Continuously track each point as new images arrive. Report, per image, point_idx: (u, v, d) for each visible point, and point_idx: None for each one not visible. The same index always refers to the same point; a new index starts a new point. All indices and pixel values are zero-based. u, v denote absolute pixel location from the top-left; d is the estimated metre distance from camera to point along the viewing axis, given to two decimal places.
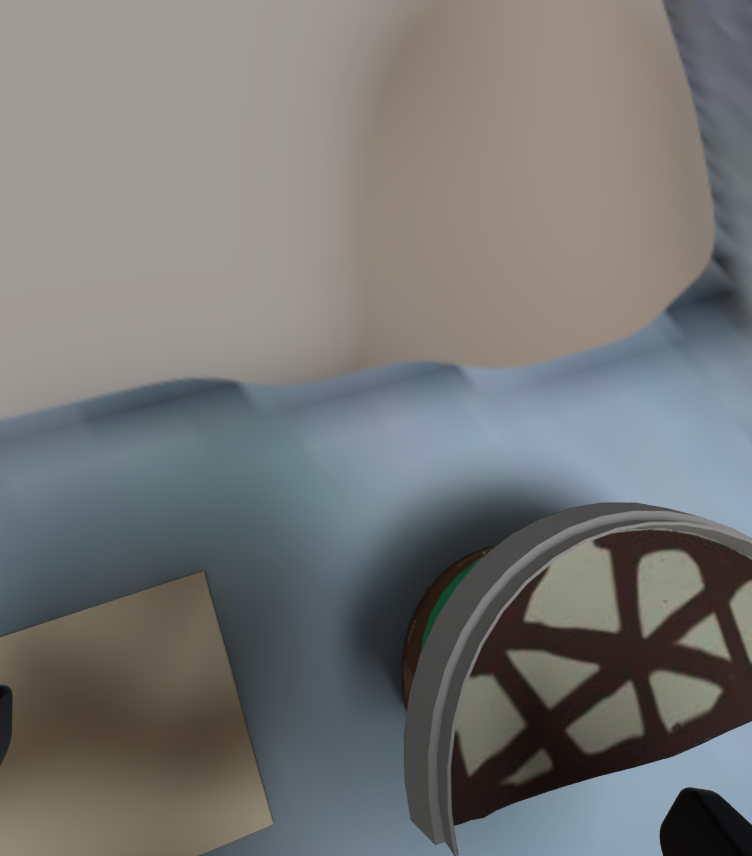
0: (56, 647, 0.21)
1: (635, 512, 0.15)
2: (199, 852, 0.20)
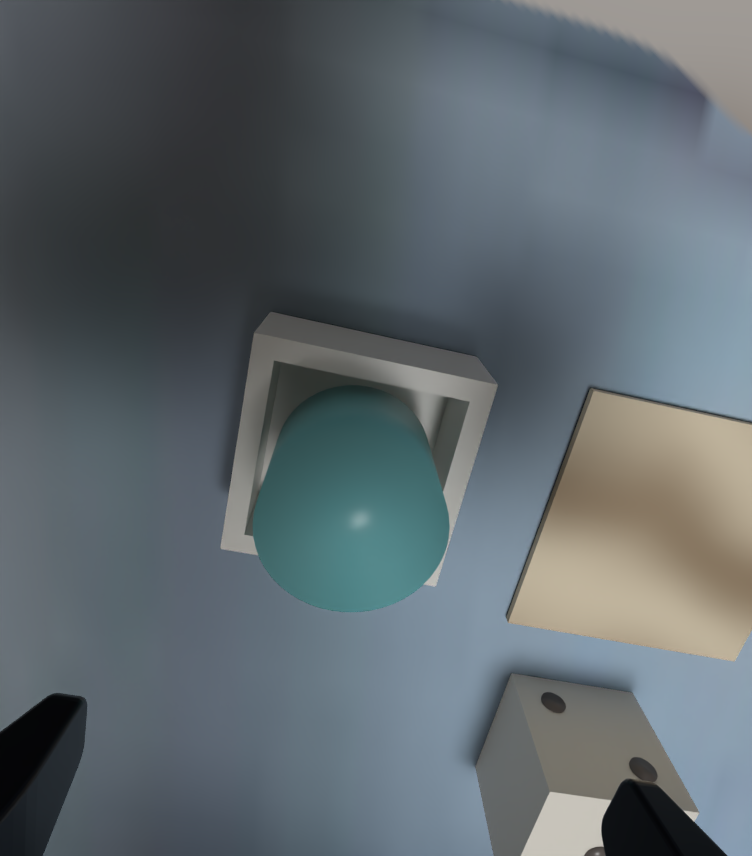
0: (690, 440, 0.19)
1: None
2: (672, 648, 0.22)
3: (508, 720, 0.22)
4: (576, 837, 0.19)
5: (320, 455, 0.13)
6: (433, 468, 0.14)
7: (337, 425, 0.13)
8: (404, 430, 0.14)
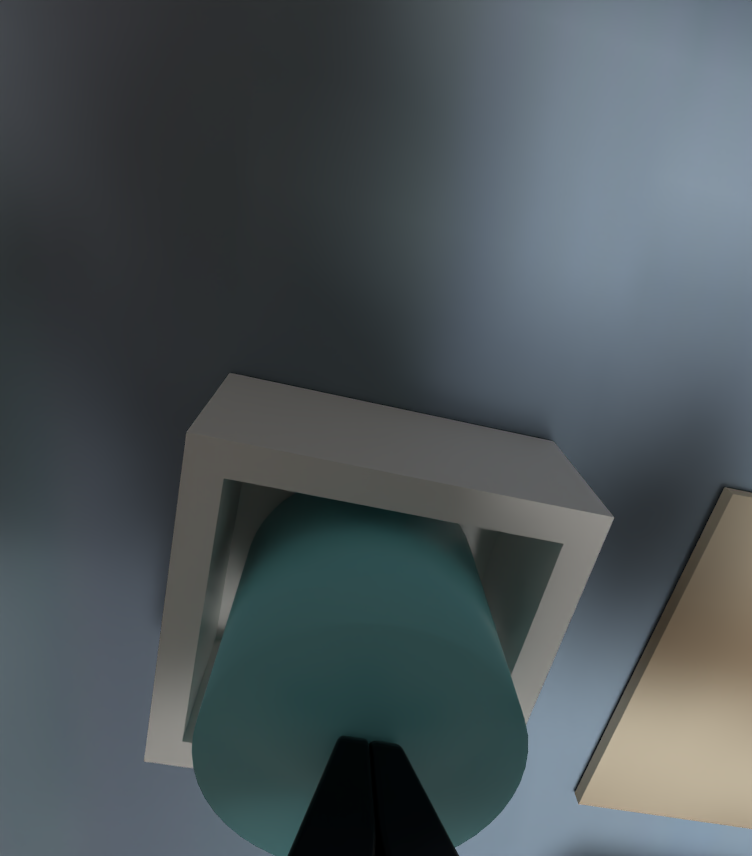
0: None
1: None
2: None
3: None
4: None
5: (307, 647, 0.07)
6: (496, 641, 0.08)
7: (338, 578, 0.08)
8: (447, 572, 0.09)
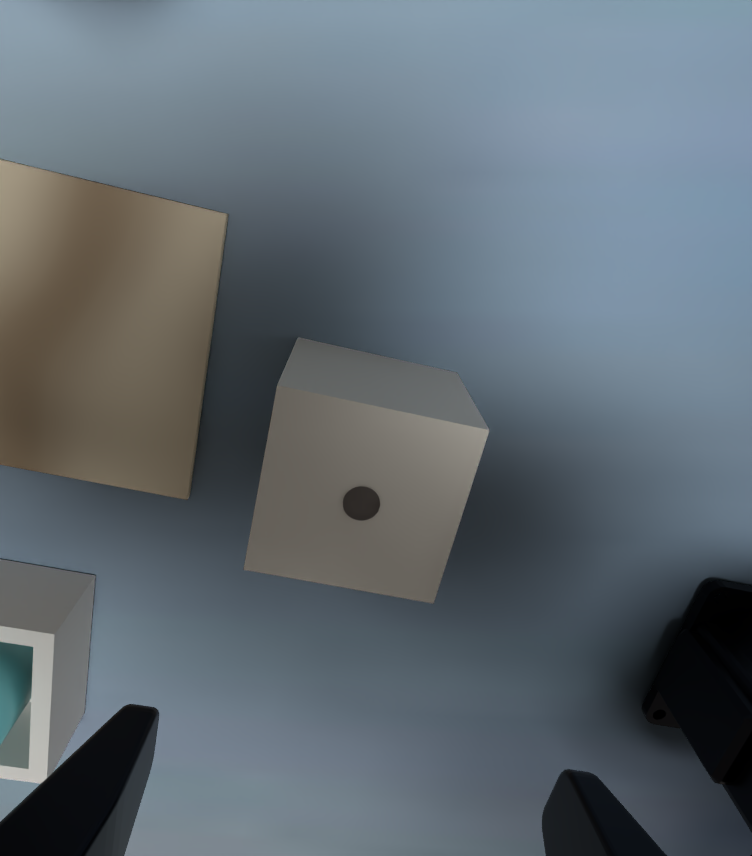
0: None
1: None
2: (211, 304, 0.17)
3: None
4: (325, 532, 0.15)
5: None
6: None
7: None
8: None
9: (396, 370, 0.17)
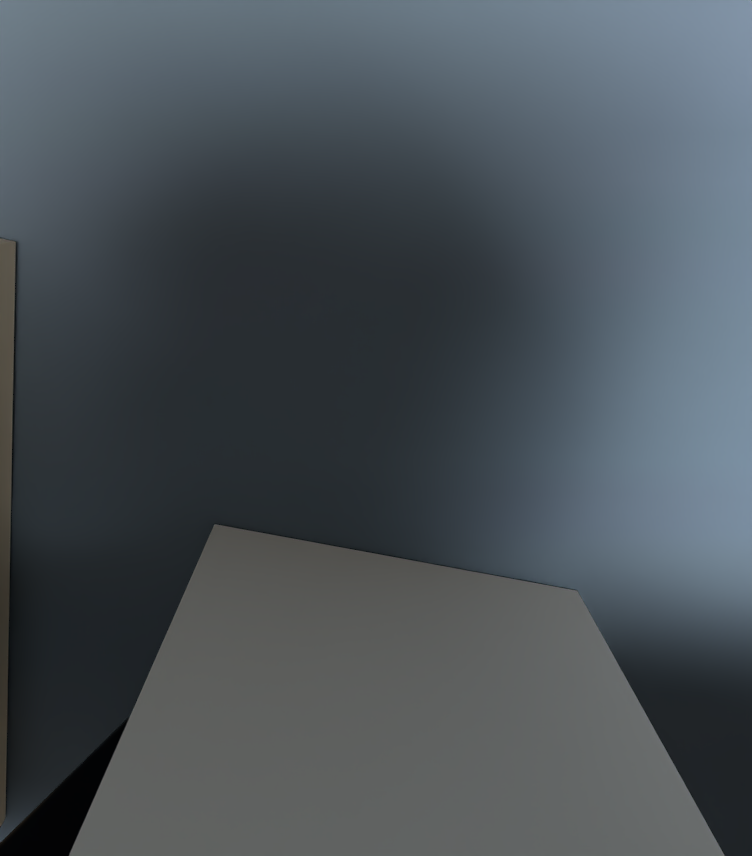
0: None
1: None
2: None
3: None
4: None
5: None
6: None
7: None
8: None
9: (452, 639, 0.07)
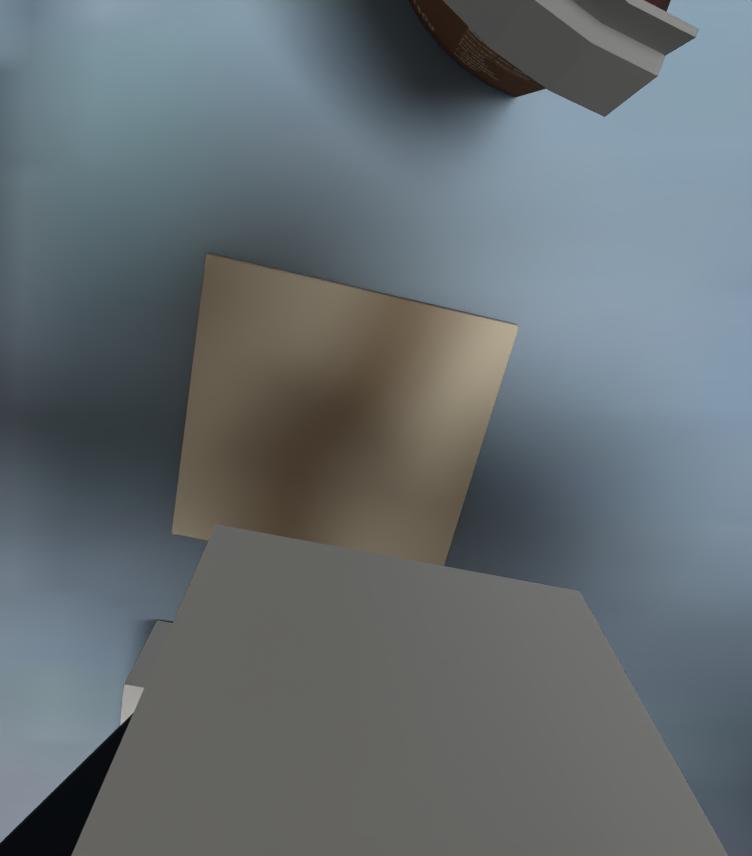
0: (214, 437, 0.18)
1: None
2: (490, 406, 0.18)
3: None
4: None
5: None
6: None
7: None
8: None
9: (454, 640, 0.07)
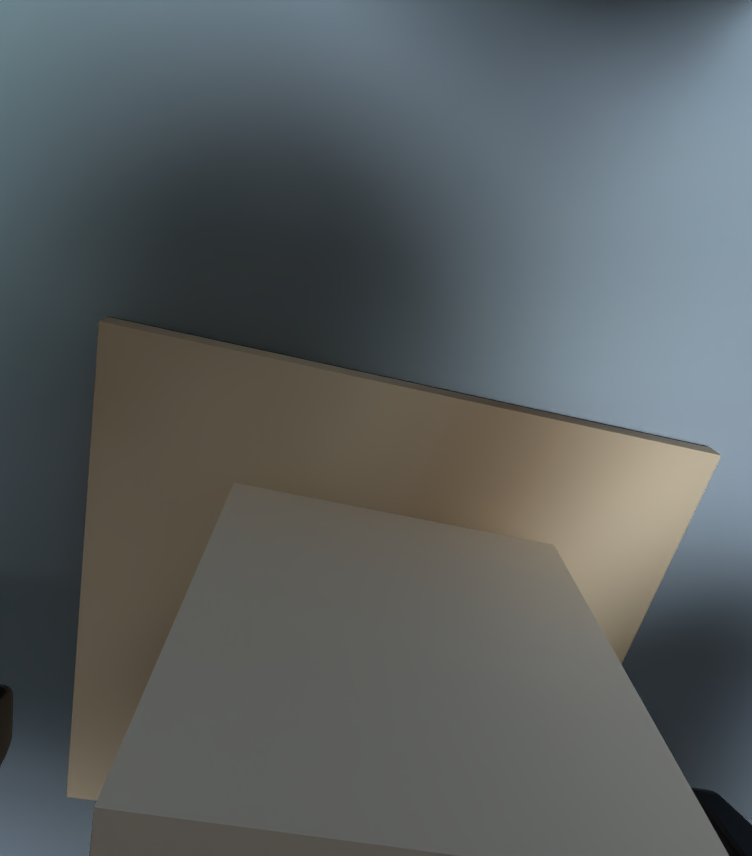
0: (135, 649, 0.10)
1: None
2: (649, 592, 0.10)
3: None
4: None
5: None
6: None
7: None
8: None
9: (441, 577, 0.08)
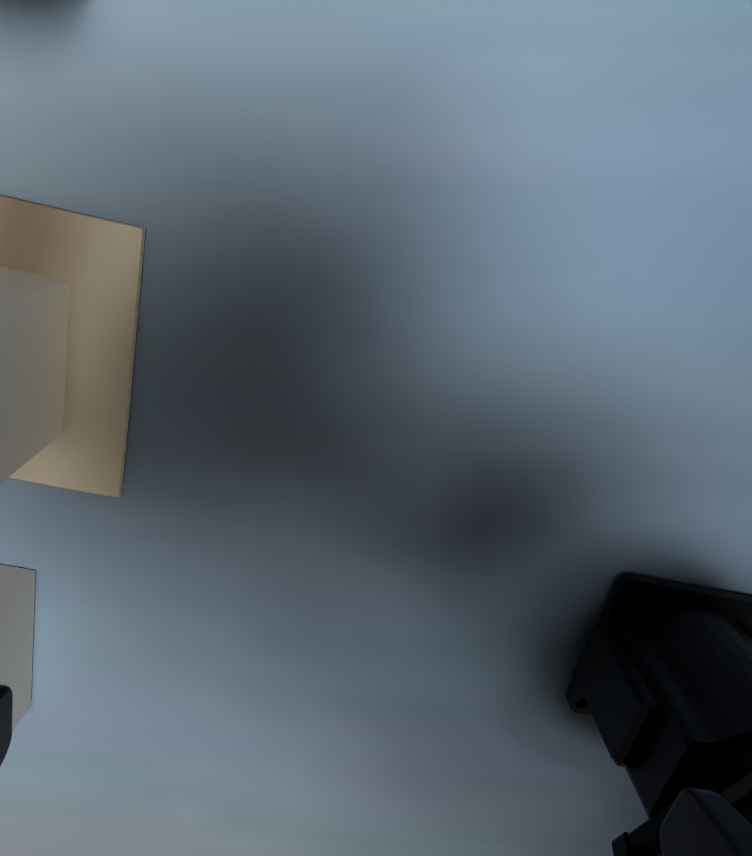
0: None
1: None
2: (132, 313, 0.18)
3: None
4: None
5: None
6: None
7: None
8: None
9: None
